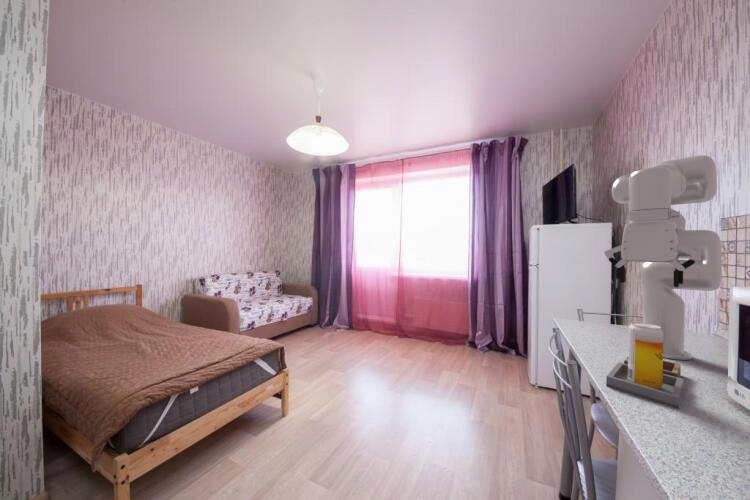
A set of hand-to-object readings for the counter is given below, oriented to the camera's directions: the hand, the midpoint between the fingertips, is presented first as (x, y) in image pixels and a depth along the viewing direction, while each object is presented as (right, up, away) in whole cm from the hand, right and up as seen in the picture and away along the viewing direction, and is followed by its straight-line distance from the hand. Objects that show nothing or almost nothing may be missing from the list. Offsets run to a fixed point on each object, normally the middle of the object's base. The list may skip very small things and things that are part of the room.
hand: (648, 284), depth 68 cm
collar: (+7, -26, +6) cm, 28 cm away
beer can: (-3, -25, -2) cm, 25 cm away
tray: (-3, -26, -2) cm, 26 cm away
